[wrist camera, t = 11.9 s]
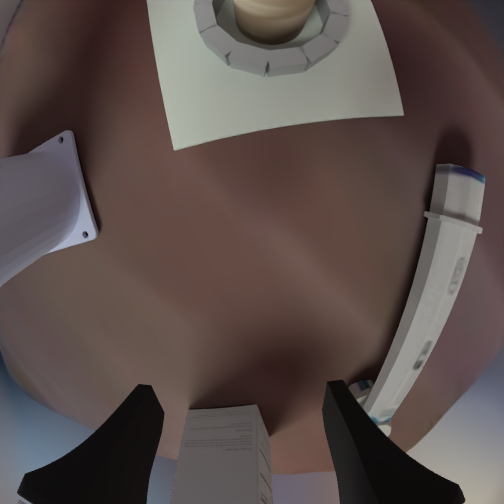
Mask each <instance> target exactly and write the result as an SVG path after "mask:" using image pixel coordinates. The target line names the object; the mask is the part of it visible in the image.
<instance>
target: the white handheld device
mask: <svg viewBox="0 0 504 504" xmlns="http://www.w3.org/2000/svg"><path fill="white" fill-rule="evenodd" d="M484 186H485V176H483V175H481V174H480V173H478V172H476V171H474V170H472V169H469V168H465V167H461V166H457V165H453V164H437V165H436V173H435V181H434V188H433V194H432V200H431V206H430V211H429V212H427V211H425V212H424V216H425V217H427V218H428V222H427V227H426V232H425V237H424V241H423V246H422V250H421V254H420V258H419V262H418V266H417V270H416V273H415V277H414V281H413V284H412V287H411V291H410V294H409V297H408V300H407V303H406V307H405V310H404V313H403V315H402V318H401V321H400V324H399V327H398V329H397V332H396V335H395V337H394V340H393V343H392V345H391V348H390V350H389V352H388V355H387V357H386V360H385V362H384V364H383V367H382V369H381V371H380V373H379V376H378V378H377V380H376V382H374V381H373V380H361V381H359V382H356V383H354V384H352V385H349V386H350V387H349V390H350V391H351V393H352V394H353V396H354V397H355V398H356V400H357V401H358V403H359V404H360V405H361V407H362V408H363V409H364V410H365V412H366V413H367V414H368V415H369V417H370V418H371V419H372V420H373V421H374V423H375V424H376V425H377V426H378V427H379V428H380V429H381V430H382V431H383V432H384V434H385V435H386V436H387V437H388V436H389V434H390V433H391V417H392V416H393V414H394V413H395V411H396V410H397V408H398V407H399V405H400V404H401V402H402V401H403V399H404V398H405V396H406V395H407V393H408V392H409V390H410V388H411V387H412V385H413V383H414V382H415V380H416V378H417V377H418V375H419V373H420V372H421V370H422V368H423V366H424V364H425V363H426V361H427V359H428V357H429V355H430V353H431V351H432V350H433V348H434V346H435V344H436V342H437V340H438V338H439V335H440V333H441V331H442V329H443V327H444V325H445V323H446V320H447V318H448V316H449V313H450V311H451V309H452V306H453V304H454V301H455V299H456V296H457V294H458V291H459V288H460V286H461V283H462V280H463V277H464V274H465V271H466V268H467V265H468V262H469V259H470V256H471V252H472V249H473V246H474V242H475V238H476V234H477V233H479V234H482V229H483V228H480V227H478V225H479V220H480V214H481V208H482V201H483V194H484Z"/></svg>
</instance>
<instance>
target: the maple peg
mask: <svg viewBox="0 0 504 504" xmlns="http://www.w3.org/2000/svg"><path fill="white" fill-rule="evenodd" d="M232 2H233V8H234V14H235V20H236V24H237V27H238V29H239V30H240V32H241V33H242V34H243V35H244V36H245V37H247V38H248V39H250V40H252V41H254V42H257V43H260V44H265V45H279V44H284V43H287V42H289V41H291V40H293V39H295V38H296V37H297V36H298V35H299V34H300V33H301V31H302V30H303V27H304V25H305V23H306V21H307V18H308V16H309V14H310V11H311V9H312V7H313V5H314V3H315V0H232Z"/></svg>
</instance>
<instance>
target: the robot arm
mask: <svg viewBox="0 0 504 504" xmlns="http://www.w3.org/2000/svg"><path fill="white" fill-rule="evenodd" d="M62 137H63V143H62V142H61V139H62ZM85 231H86V232H87V233H88V236H87V235H86V234H85ZM98 233H99V232H98V228H97V225H96V222H95V219H94V215H93V212H92V209H91V205H90V202H89V198H88V195H87V191H86V187H85V183H84V179H83V175H82V171H81V167H80V163H79V158H78V154H77V149H76V144H75V139H74V134H73V132H72V131H71V130H66V131H64V132H62V133H60V134H58V135H57V136H55V137H53V138H51V139H50V140H48V141H46V142H45V143H43V144H42V145H40V146H38V147H37V148H35V149H34V150H32V151H30V152H29V153H27V154H22V155H17V156H11V157H6V158H1V159H0V286H2V285H3V284H4V283H5V282H7V281H8V280H9V279H11V278H12V277H13V276H15V275H16V274H17V273H19V272H20V271H22V270H23V269H24V268H26V267H27V266H29V265H30V264H31V263H33V262H34V261H36V260H37V259H39V258H40V257H42V256H43V255H44V254H47V253H50V252H53V251H56V250H59V249H63V248H66V247H69V246H73V245H76V244H80V243H83V242H86V241H90V240H93V239H95V238H96V237H97V236H98ZM322 413H323V421H324V428H325V433H326V437H327V441H328V445H329V448H330V452H331V456H332V460H333V464H334V467H335V471H336V476H337V481H338V489H339V497H340V504H463V503H464V502H465V498H464V495H463V492H462V490H461V489H460V487H459V485H458V484H456V483H454V482H452V481H450V480H447V479H445V478H443V477H441V476H440V475H438V474H436V473H434V472H432V471H431V470H429V469H427V468H426V467H424V466H423V465H421V464H420V463H418V462H417V461H416V460H414V459H413V458H411V457H410V456H409V455H407V454H406V453H405V452H404V451H403V450H401V449H400V448H399V447H398V446H397V445H396V444H395V443H394V442H392V441H391V440H390V439H389V438H388V437H387V436H386V435H385V434H384V432H383V431H382V430H381V429H380V428H379V427H378V426H377V425H376V424H375V423H374V421H373V420H372V419H371V418H370V417H369V415H368V414H367V413H366V412H365V410H364V409H363V408H362V407H361V405H360V404H359V403H358V401H357V400H356V398H355V397H354V396H353V394H352V393H351V391H350V390H349V388H348V387H347V385H346V384H345V382H344V381H343V380H336V381H329V382H327V386H326V392H325V397H324V403H323V408H322ZM163 421H164V411H163V409H162V407H161V405H160V403H159V401H158V399H157V397H156V395H155V392H154V390H153V388H152V386H151V385H143V384H138V385H137V386H136V388H135V389H134V390H133V391H132V392H131V393H130V394H129V396H128V397H127V398H126V399H125V400H124V401H123V403H122V404H121V405H120V406H119V407H118V408H117V409H116V411H115V412H114V413H113V414H112V415H111V416H110V417H109V418H108V419H107V420H106V421H105V422H104V423H103V424H102V425H101V426H100V427H99V428H98V429H97V430H96V431H95V432H94V433H93V434H92V435H91V436H90V437H89V438H88V439H86V440H85V441H84V442H83V443H81V444H80V445H79V446H78V447H76V448H75V449H73V450H72V451H71V452H69V453H68V454H66V455H65V456H63V457H61V458H60V459H58V460H56V461H54V462H52V463H50V464H48V465H46V466H44V467H42V468H39V469H37V470H34V471H31V472H29V473H26V474H25V475H24V477H23V479H22V482H21V484H20V486H19V489H18V491H17V493H18V494H19V495H20V496H21V497H23V498H24V499H26V500H27V501H29V502H31V503H32V504H146V503H147V492H148V484H149V478H150V473H151V469H152V465H153V462H154V458H155V455H156V451H157V448H158V444H159V441H160V437H161V433H162V428H163ZM18 504H26V503H24V502H22V501H21V500H19V501H18Z"/></svg>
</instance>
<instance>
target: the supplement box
mask: <svg viewBox="0 0 504 504" xmlns="http://www.w3.org/2000/svg"><path fill="white" fill-rule="evenodd" d="M170 504H273V498H272V474H271V445H270V438H269V435H268V433H267V430H266V428H265V425H264V422H263V420H262V417H261V414H260V412H259V409H258V406H257V405H256V404H255V405H247V406H239V407H228V408H215V409H196V410H188V411H187V416H186V421H185V426H184V431H183V436H182V441H181V446H180V452H179V457H178V462H177V468H176V474H175V478H174V484H173V489H172V495H171V501H170Z"/></svg>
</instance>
